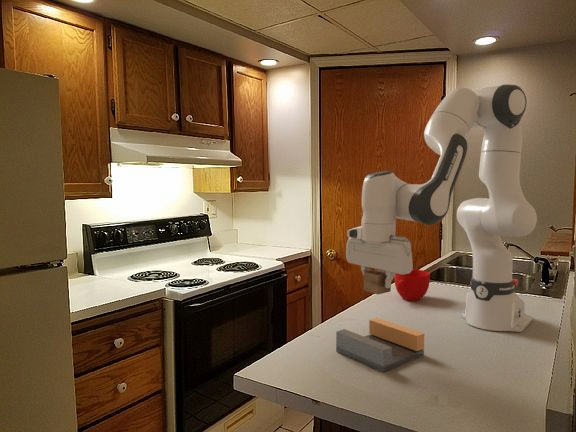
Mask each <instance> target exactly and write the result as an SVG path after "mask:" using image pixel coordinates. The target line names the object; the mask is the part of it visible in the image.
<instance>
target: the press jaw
mask: <svg viewBox="0 0 576 432" xmlns="http://www.w3.org/2000/svg"><path fill="white" fill-rule="evenodd" d="M368 327H369V331H368V332H369V334H368V335H370V334H372V335H374V336H377V337H380V338H382V339H385V340H388V341H390V342H393V343H396V344H399V345H401V346H404V347H407V348H409V349H412V350H415V351H419V350H421V349H425V333H424V332H421V331H418V330H415V329H413V328H409V327H406V326H404V325H400V324H397V323H393V322H390V321H387V320H385V319H381V318H378V317H374V318H371V319H369V326H368Z"/></svg>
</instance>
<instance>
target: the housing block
mask: <svg viewBox="0 0 576 432" xmlns="http://www.w3.org/2000/svg"><path fill="white" fill-rule="evenodd" d="M387 276H388V275H386V271H383V270H379V269H374V270H373V269H372V270H369V271H367V272H364V275H363V291H364V292H367V293H371V294H375V295H382V294H385V293H390V292H391V288H392V286H391V287H390V288H384V287H383V286H382V285H383V283H382V281H384V280H386V278H387Z"/></svg>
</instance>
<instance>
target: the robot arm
mask: <svg viewBox="0 0 576 432" xmlns="http://www.w3.org/2000/svg"><path fill="white" fill-rule="evenodd" d="M526 107H527V97H526V94H525V92H524V90H523V88H521V87H520V86H519V85H517V84H501V85H498V86H488V87H483V88H481V89H476V90H475V91H473V90H471V89H470V88H467V87H456V88H454V89H452V90H451V91H449V92H448V94H446V95H445V96H444V97H443V99H442V100H441V101H440V102H439V104H438V105H437V107H436V108H435V110H433V113H432V115H431V116H430V118H429V120H428V122H427V123H426V126H425V128H424V131H423V138H424V141H425V143H426V145H427V146H428V147H429V148H430V149H431V150H432V151H433V152H434V153H436V154H437V155H439V158H438V162H437V163H436V166H435V168H434V171H433V173H432V176H431V178H430V179H428V180H427V181H426V182H425V183H421V184H416V183H415V184H412V183H408V182H405V181H403V180H401V179H400V178H399V177H397V176H396V175H395V173H394V172H393V171H390V170H383V171H382V170H381V171H375V172H371V173H369V174H367V175H366V176H365V177H364V180H363V183H362V190H361V209H362V217H361V221H360V222H361V223H360V224H361V226H357V227H353V228H351V229H348V230H347V232H346V236H347V238H348V239H347V242H346V244H345V245H346V247H345V257H346V260H347V263H349V264H352V265H358V266H360V271H361V272H362V273H361V274H362V275H363V276H364V272H367V271H370V270H371V269H374V270H380V271H385V272H386V275H388V276H387V278H386V280H384V281H382V283H383V285H382V286H383V287H384V288H390V287H391V288H392V282H393V280H394V276H395V273H397V274H401V275H404V274H409V273H410V272H411V271H412V270H413V269H414V267H413V264H414V263H413V262H414V261H413V252H412V243H411V241H410V240H409V239H408V238H407V237H406V236H398V235H396V231H397V230H396V227H397V226H396V225H397V224H396V221H397V220H396V219H399V220H405V221H411V222H416V223H418V224H419V223H420V224H424V225H427V226H432V225H436V224H438V223H440V222H441V221H442V220H443V219H444V218H445V217H446V215H447V213H448V211H449V208H450V203H451V198H452V194H453V190H454V188H455V185H456V183H457V180H458V177H459V175H460V174H461V171H462V168H463V165H464V162H465V159H466V157H467V153H468V146H469V145H468V141H467V137H468V134H469V132H470V130H471V129H475V128H478V129H480V128H482V130H483V133H484V135H483V138H482V143H481V149H480V159H479V167H478V168H479V169H478V179H479V180H480V181H481V182H482V184H484V185H485V186H486V188H487V192H488V197H489V198H485V197H475V198H470V199H467V200H464V201H462V202H461V203H460V204H459V206H458V207H457V210H456V220H457V222H458V224H459V225H460V227H461V228H462V229H463V230H464V232H465V233H466V236H467V238H468V240H469V243H470V248H471V253H472V277H470V278H471V279H470V289H471V290H470V291H468V292H467V295H466V300H465V301H466V302H465V303H466V304H465V311H464V312H462V314H461V317H462V318H463V319H465V322H466V323H467V324H468V325H470V326H472V327H474V328H479V329H480V330H486V331H491V332H492V331H493V332H494V331H495V332H514V333H515V332H517V333H522V332H524V330H525V329H527V327H528V325H530V324H531V322H533V316H532V315H530V314H527V313H525V311H526V310H525V308H526V307H525V302H524V300H523V299H522V298H521V297H520V296H519V295H518V294H517V292H516V288H515V287H517V286H518V284H519V280H518V279H514V278H513V266H514V265H513V264H514V263H513V262H514V261H513V260H514V258H513V253H511V251H510V250H509V249H507V247H506V246H505V244H504V243H503V241H502V238H501V237H505V238H519V237H526V236H529V235H530V234H531V233H532V232H533V231H534V230H535V229H536V225H537V222H538V216H537V212H536V209H535V208H534V207H533V206H532V205H531V204H530V203H529V201H528V200H527V199H526V197H525V195H524V193H523V190H522V185H521V180H520V178H521V177H520V176H521V175H520V174H521V161H522V151H523V149H522V148H523V132H522V131H523V130H522V124H521V119H522V118H523V116H524V113H525V111H526Z"/></svg>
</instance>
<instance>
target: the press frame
mask: <svg viewBox="0 0 576 432" xmlns="http://www.w3.org/2000/svg"><path fill="white" fill-rule="evenodd" d="M335 333H336V334H335V339H336V340H335V342H336V344H335V345H336V346H335V347H336V348H335V349H336V350H335V352H337V353H338V354H340V355H343V356H345V357H348V358H350V359H352V360H354V361H356V362H358V363H360V364H363V365H365V366H368V367H370V368H371V369H374V370H376V371H379V372H381V373H383V374H384V373H387V372H389V371H390V370H393V369H396V368H398V367H400V366H402V365H404V364H406V363H409V362H411V361H414V360H416V359H418V358H420V357H423V356H425V350H424V349H425V348H424V349H421V350H419V351H415V350H412V349H409V348H407V347H404V346H401V345H399V344H396V343H393V342H390V341H388V340H385V339H382V338H380V337H377V336H374V335H372V334H367V335H365V336H363V335H361V334H359V333H355V332H353V331H351V330H348V329H345V328H343V329H339V330H337V331H336V332H335Z"/></svg>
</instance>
